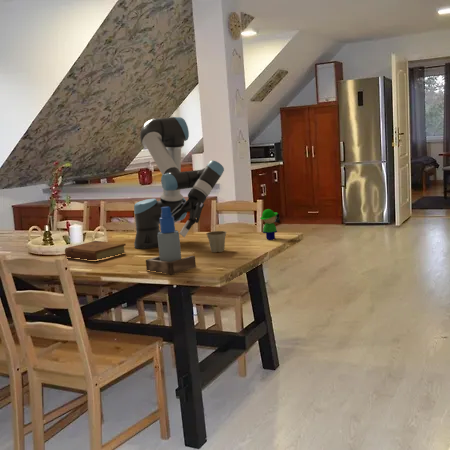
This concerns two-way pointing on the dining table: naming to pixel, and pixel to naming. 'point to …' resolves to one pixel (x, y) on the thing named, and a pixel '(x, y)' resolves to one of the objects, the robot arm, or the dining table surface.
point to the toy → (270, 223)
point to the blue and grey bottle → (168, 237)
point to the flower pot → (216, 240)
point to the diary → (95, 250)
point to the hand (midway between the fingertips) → (172, 233)
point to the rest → (170, 265)
